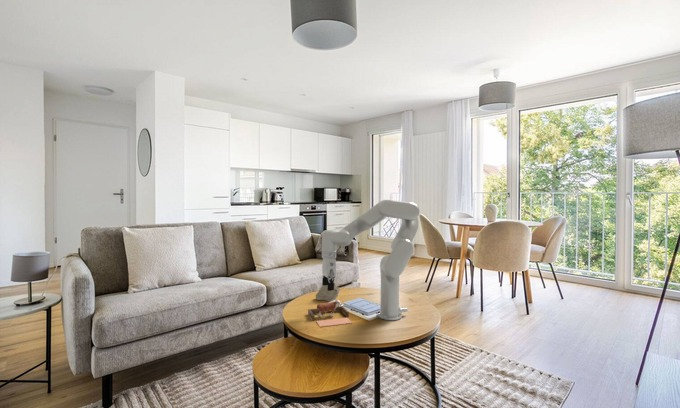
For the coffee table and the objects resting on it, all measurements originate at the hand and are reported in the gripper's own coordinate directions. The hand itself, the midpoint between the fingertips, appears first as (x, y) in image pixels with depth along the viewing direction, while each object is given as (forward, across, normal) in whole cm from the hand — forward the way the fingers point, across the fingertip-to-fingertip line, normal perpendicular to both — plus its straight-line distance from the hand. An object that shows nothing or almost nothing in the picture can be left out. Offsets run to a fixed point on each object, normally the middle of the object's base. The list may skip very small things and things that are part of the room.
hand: (327, 287), depth 165 cm
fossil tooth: (+15, +26, -8) cm, 31 cm away
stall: (+15, 0, -1) cm, 15 cm away
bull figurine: (+15, 0, -1) cm, 15 cm away
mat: (+15, -9, -1) cm, 17 cm away
